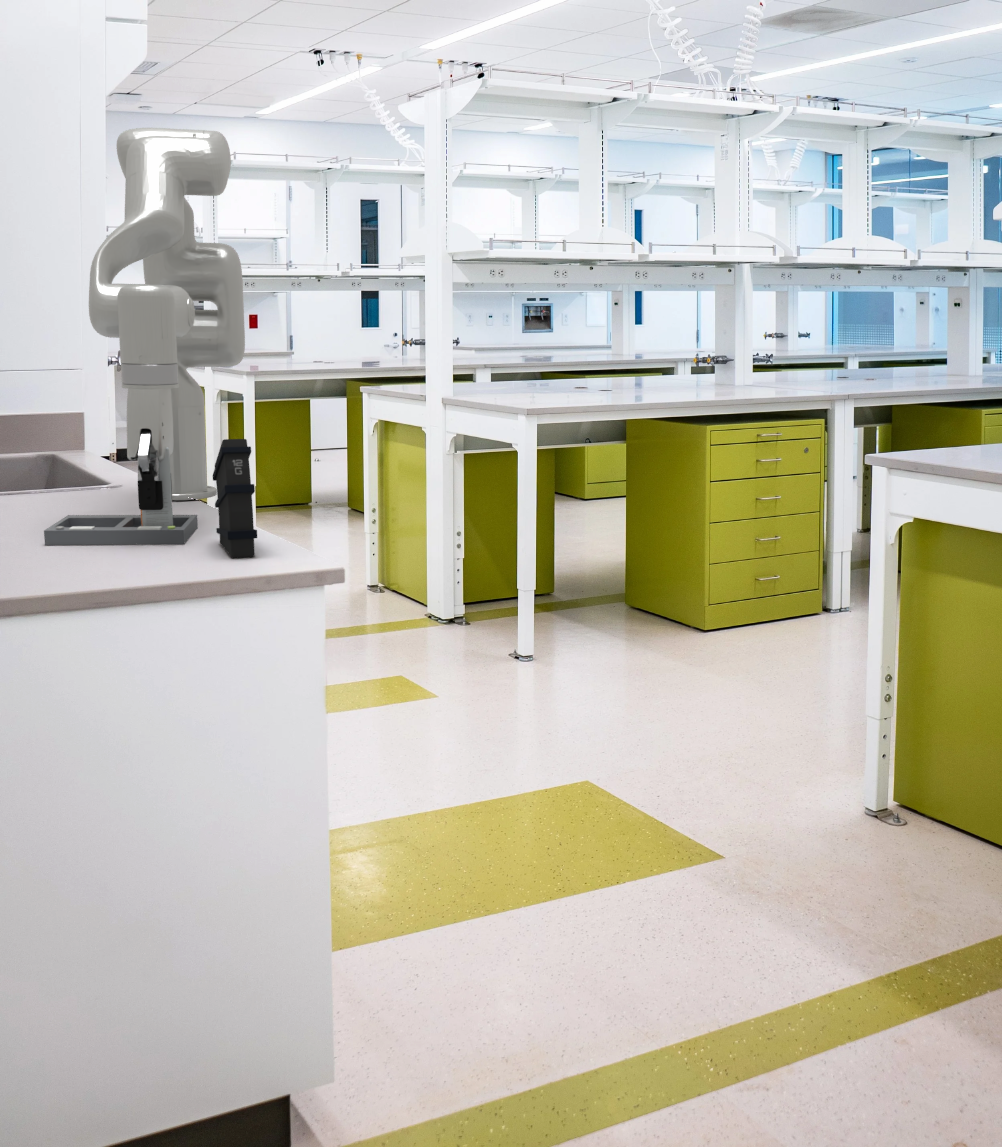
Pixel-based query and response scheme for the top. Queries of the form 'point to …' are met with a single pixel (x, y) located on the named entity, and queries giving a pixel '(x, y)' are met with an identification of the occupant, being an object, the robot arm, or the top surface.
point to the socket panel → (118, 530)
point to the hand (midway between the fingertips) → (155, 504)
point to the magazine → (235, 498)
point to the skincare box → (165, 514)
